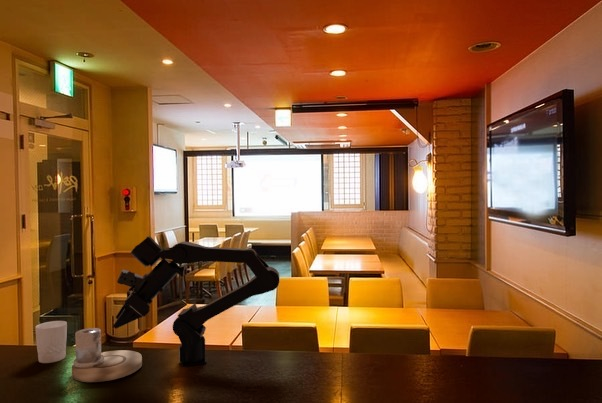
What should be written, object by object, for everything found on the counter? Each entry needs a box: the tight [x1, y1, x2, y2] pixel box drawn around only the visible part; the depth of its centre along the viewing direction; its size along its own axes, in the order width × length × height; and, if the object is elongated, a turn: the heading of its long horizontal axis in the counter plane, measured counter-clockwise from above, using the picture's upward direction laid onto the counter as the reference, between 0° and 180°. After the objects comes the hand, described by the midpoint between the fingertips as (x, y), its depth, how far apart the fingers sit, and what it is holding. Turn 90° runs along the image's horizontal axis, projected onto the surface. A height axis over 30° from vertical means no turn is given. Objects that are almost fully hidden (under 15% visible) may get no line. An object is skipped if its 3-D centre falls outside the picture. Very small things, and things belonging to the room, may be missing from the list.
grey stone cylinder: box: [73, 327, 104, 369], centre depth 114 cm, size 7×7×8 cm
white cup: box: [34, 320, 68, 364], centre depth 125 cm, size 8×8×10 cm
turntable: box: [71, 349, 143, 383], centre depth 116 cm, size 17×17×2 cm
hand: (115, 322), depth 116 cm, fingers open, 9 cm apart
